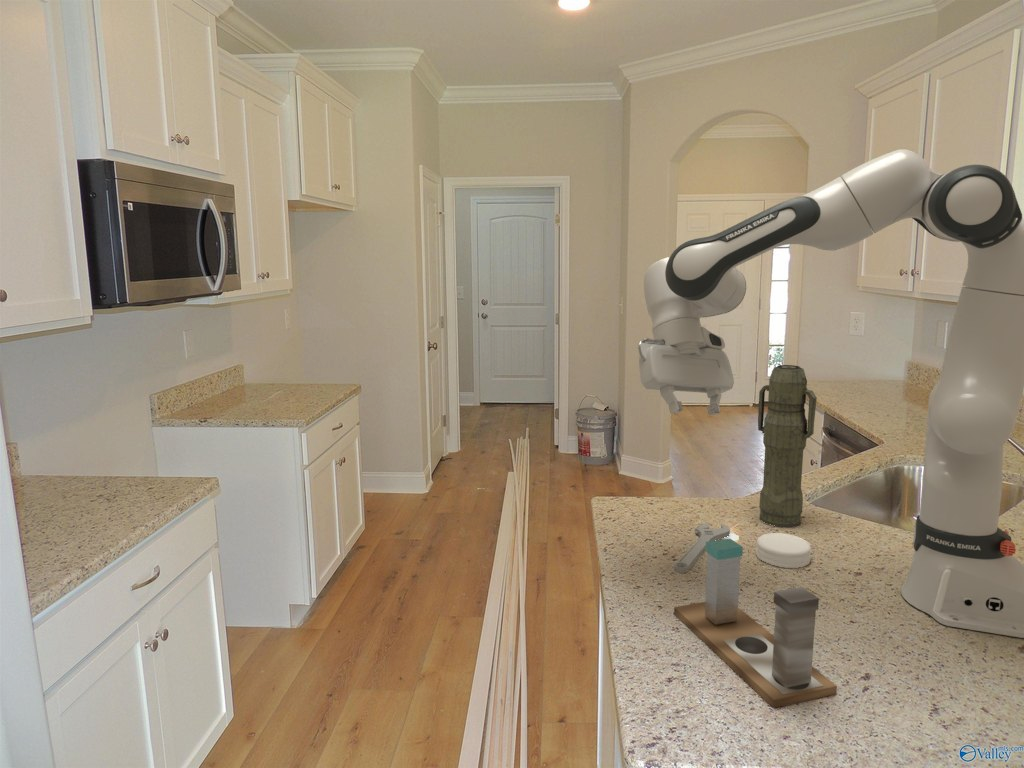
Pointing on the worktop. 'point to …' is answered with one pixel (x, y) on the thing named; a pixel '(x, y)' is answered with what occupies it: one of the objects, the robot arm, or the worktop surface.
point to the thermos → (784, 444)
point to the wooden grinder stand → (768, 648)
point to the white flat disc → (783, 550)
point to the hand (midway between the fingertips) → (696, 413)
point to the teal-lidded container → (722, 580)
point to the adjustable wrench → (700, 546)
